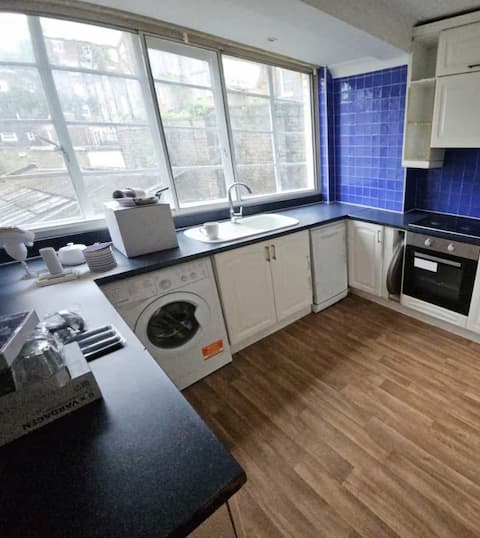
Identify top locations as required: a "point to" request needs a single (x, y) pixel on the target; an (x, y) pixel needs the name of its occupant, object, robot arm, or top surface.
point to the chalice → (20, 257)
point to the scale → (57, 277)
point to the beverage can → (51, 260)
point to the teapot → (72, 254)
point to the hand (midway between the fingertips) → (17, 245)
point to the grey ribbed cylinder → (100, 258)
